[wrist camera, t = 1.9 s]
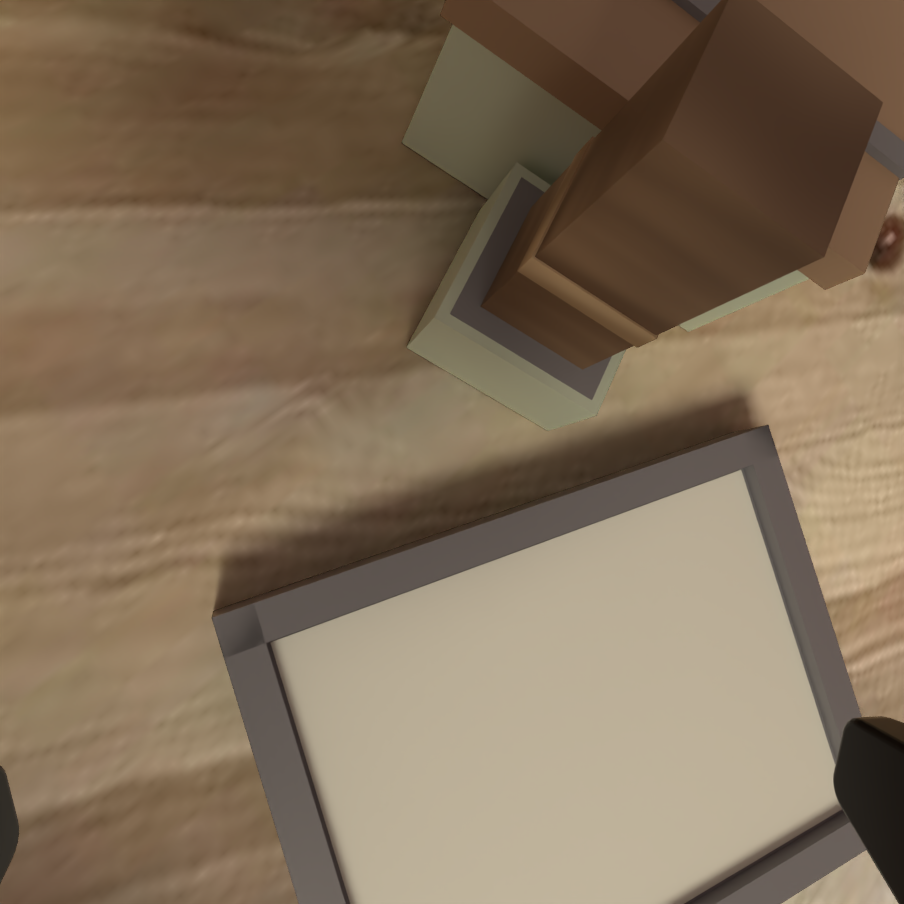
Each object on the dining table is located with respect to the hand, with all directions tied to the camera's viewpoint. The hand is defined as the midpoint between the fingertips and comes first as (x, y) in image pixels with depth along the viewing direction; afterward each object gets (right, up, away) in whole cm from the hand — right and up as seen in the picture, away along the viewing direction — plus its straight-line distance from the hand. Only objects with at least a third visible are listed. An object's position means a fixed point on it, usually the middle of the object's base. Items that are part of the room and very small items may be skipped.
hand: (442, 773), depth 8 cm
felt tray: (+4, -5, +13) cm, 14 cm away
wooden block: (+3, +8, +11) cm, 14 cm away
